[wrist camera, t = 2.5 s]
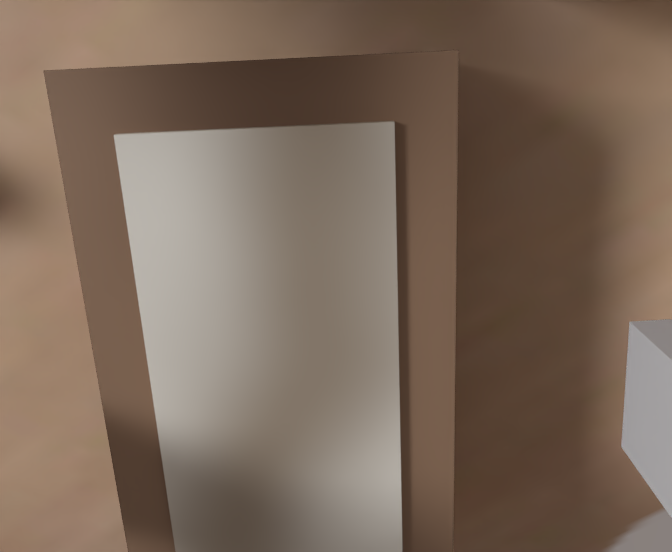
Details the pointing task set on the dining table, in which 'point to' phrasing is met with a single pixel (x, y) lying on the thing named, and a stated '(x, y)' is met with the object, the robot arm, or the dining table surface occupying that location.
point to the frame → (271, 296)
